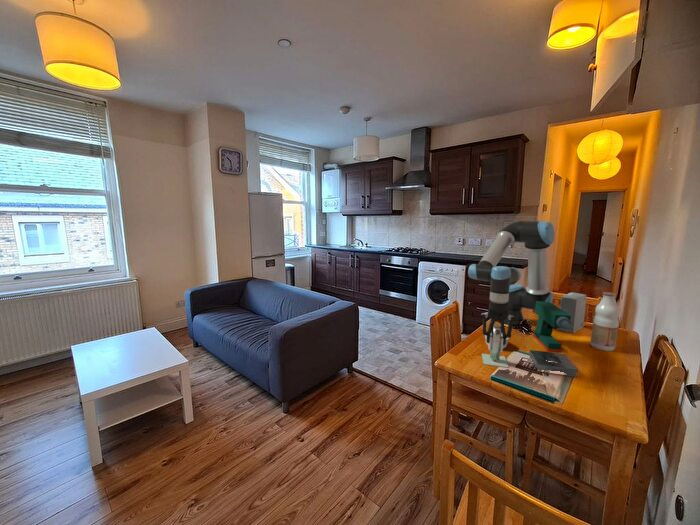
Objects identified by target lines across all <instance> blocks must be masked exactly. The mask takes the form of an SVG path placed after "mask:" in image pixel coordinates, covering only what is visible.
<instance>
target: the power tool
mask: <svg viewBox="0 0 700 525" xmlns="http://www.w3.org/2000/svg"><path fill="white" fill-rule="evenodd" d="M534 313H535V314H536V315H537V316H538V318H537V323H536V326H535V329H533V333H532V336H531V337H533V339H535V340H536V341H537V343H539V344H540V345H541V346H542V347H543V348H544V349H545V351H546V352H552V353H563V349H562V344H561V343H560V342H559V341H558V340H557V339H556V338H555V337H554V336H553V335H552V334H553V331H554V330H558V328H562V329H572V330H573V328H572V327H571V321H570V320H571V315H569V314H568V313H566V312H564V311H563V310H561V309H560V307H558V306H557V305H556V304H553V302H552V303H550V302H542V301H536V305H535V310H534Z"/></svg>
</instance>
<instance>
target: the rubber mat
mask: <svg viewBox="0 0 700 525" xmlns="http://www.w3.org/2000/svg"><path fill="white" fill-rule="evenodd" d="M481 357H482V362H483V365H485V366H493V367H500V368H506V367H509V364H508V362H507V359H506V357H505V356H504V355H500V359H499V360H493V359H491V358H490V353H489V354H487V353H481Z"/></svg>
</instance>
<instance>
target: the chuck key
mask: <svg viewBox="0 0 700 525" xmlns="http://www.w3.org/2000/svg"><path fill="white" fill-rule="evenodd" d="M501 334H502V328H501V325H497V324H494V326H493V329H492V335H491V337H492V343H491V351H489V355H490V358H491V359H493V360H499V359H500V356H501V352H500V347H501Z"/></svg>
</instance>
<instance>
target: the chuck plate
mask: <svg viewBox="0 0 700 525" xmlns="http://www.w3.org/2000/svg"><path fill="white" fill-rule="evenodd" d="M529 356H530V357H529ZM528 357H529V359H530V358H531V359H532V361H533V362H534V364H535V366H536V368H537V370H551V371H560V372H564V373H566V374H567V375H569V376H571V378H577V375H578V368H577V367H576V366H575V365H574V363H573V362H572V360H570V358H569V357H568V356H567V354H565V353H561V352H553V351H541V350H534V349H529V354H528ZM531 359H530V360H531ZM546 360H547V361H546ZM532 361H531V362H532ZM548 361H556V362H558V363H555V362H548ZM536 368H535V369H536ZM537 370H536V371H537ZM569 376H568V377H569Z"/></svg>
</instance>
